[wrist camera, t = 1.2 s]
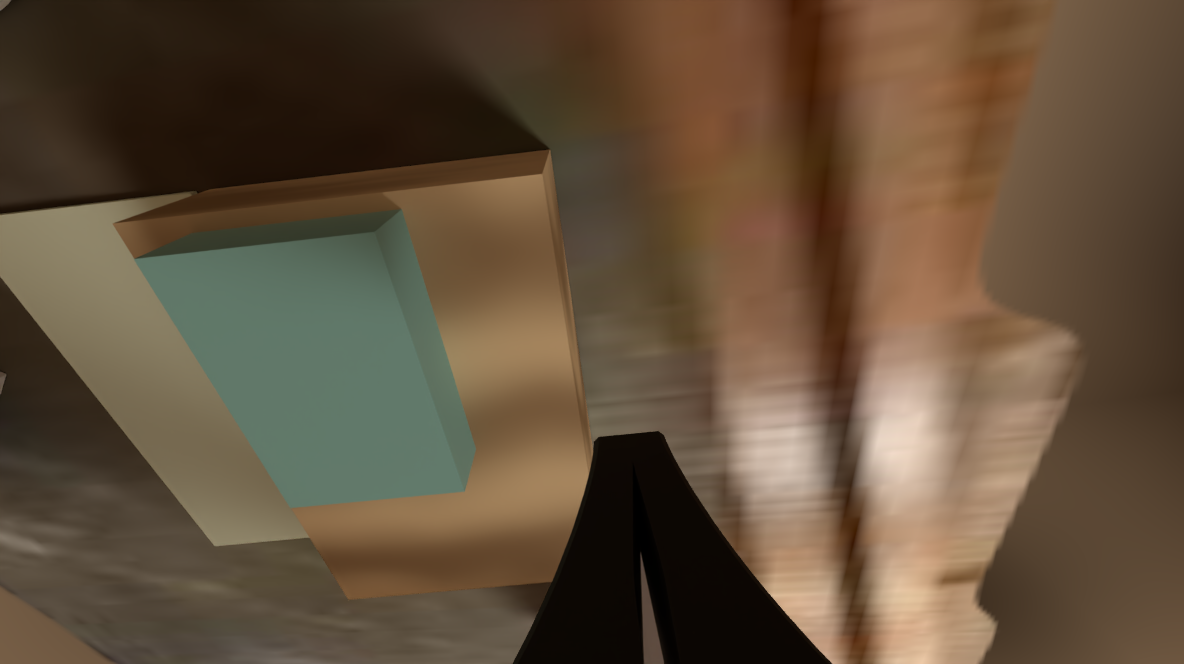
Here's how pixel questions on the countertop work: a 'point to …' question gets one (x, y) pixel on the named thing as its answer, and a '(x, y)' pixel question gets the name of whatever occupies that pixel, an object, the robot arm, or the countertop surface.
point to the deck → (452, 366)
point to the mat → (140, 363)
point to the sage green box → (322, 354)
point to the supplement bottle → (4, 3)
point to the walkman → (2, 380)
